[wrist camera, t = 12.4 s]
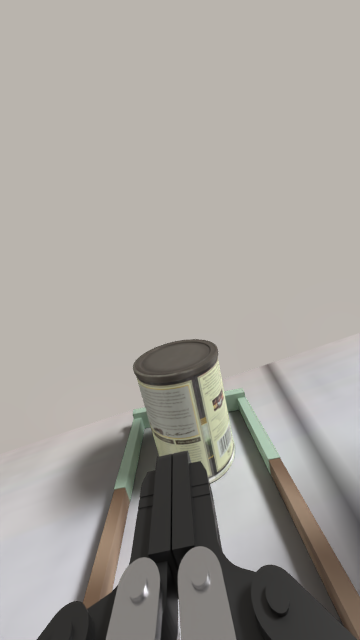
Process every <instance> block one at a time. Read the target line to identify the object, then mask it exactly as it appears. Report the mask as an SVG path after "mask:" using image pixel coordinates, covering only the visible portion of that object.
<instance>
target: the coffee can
mask: <svg viewBox="0 0 360 640" xmlns="http://www.w3.org/2000/svg"><path fill="white" fill-rule="evenodd" d="M133 370H134V373H135V375H136V376H137V380H138V384H139V387H140V391H141V394H142V398H143V401H144V405H145V408H146V412H147V415H148V419H149V423H150V426H151V430H152V433H153V437H154V440H155V444H156V447H157V451H158V454H159V456H164V455H168V454H173V453H177V452H182V451H187V450H188V452H189V455H190V459H191V463H193V462H198V461H201V463H202V464H203V466H204V467H205V469H206V470H207V474H208V479H209V483H212V482H214V481H216V480H217V479H219V478H220V477H222V476H223V475H224V474H225V473H226V472H227V470H228V469H229V467H230V466H231V464H232V462H233V459H234V455H235V445H234V441H233V438H232V432H231V427H230V421H229V416H228V410H227V405H226V400H225V394H224V388H223V383H222V378H221V373H220V367H219V362H218V349H217V346H216V345H215V344H214V343H212V342H210V341H206V340H198V339H196V340H195V339H193V340H181V341H175V342H171V343H167V344H164V345H161V346H158V347H156V348H154V349H152V350H150V351H148V352H146V353H144V354H143V355H141V356H140V357H139V358H138V359H137V360H136V361H135V363H134V365H133Z"/></svg>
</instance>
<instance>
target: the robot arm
mask: <svg viewBox="0 0 360 640" xmlns="http://www.w3.org/2000/svg"><path fill="white" fill-rule="evenodd" d="M178 599H179V610H180V626H181V640H357V639H356V638H355V637H354V636H353V635H352V634H351V633H350V632H349V631H348V630H347V629H346V628H345V627H344V626H343V625H342V624H341V623H340V622H339V621H338V620H337V619H336V618H335V617H334V616H332V615H331V614H330V613H329V612H328V611H327V610H326V609H325V608H324V607H323V606H322V605H321V604H320V603H319V602H318V601H317V600H316V599H315V598H314V597H313V596H312V595H311V594H310V593H309V592H308V591H306V590H305V589H304V588H303V587H302V586H301V585H300V584H299V583H298V582H297V581H296V580H295V579H294V578H293V577H292V576H291V575H290V574H289V573H288V572H286V571H285V570H284V569H282V568H280V567H278V566H275V565H265V566H263V567H261V568H260V569H259V570H258V571H257V572H253V571H250V570H246V569H243V568H240V567H237V566H235V565H234V564H232V563H231V562H230V561H229V560H228V559H227V558H226V557H225V555H224V554H223V552H222V547H221V541H220V535H219V530H218V524H217V518H216V512H215V506H214V500H213V495H212V491H211V487H210V483H209V479H208V474H207V470H206V469H205V467H204V466H203V464H202V463H201V461H198V462H193V463H191V459H190V455H189V452H188V450H187V451H182V452H177V453H173V454H168V455H164V456H159V457H157V463H156V471H151V472H148V473H147V475H146V477H145V479H144V481H143V483H142V487H141V493H140V500H139V507H138V513H137V520H136V527H135V533H134V540H133V547H132V553H131V559H130V563H129V566H128V567H127V569H126V570H125V571H124V573H123V575H122V577H121V579H120V581H119V584H118V586H117V587H116V588H115V589H114V590H113V591H112V592H111V593H109V594H108V595H107V596H105V597H104V598H102V599H101V600H99V601H98V602H96V603H95V604H93V605H92V606H91V607H89V608H88V609H87V608H86V606H85V605H84V604H83V603H81V602H78V601H75V602H71V603H69V604H67V605H65V606H64V607H63V608H62V609H61V610H60V611H59V612H58V613H57V614H56V615H55V616H54V617H53V619H52V620H51V621H50V623H49V624H48V625H47V627H46V628H45V629H44V631H43V632H42V633H41V635H40V636H39V637H38V639H37V640H180V632H179V626H178Z"/></svg>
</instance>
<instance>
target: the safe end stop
mask: <svg viewBox="0 0 360 640" xmlns="http://www.w3.org/2000/svg"><path fill="white" fill-rule="evenodd" d="M224 394H225V400H226V405H227V410H228V412H230V411H235V410H240V412H241V414H242V416H243V418H244V421H245V423H246V425H247V427H248V429H249V431H250V433H251V435H252V437H253V439H254V441H255V443H256V446H257V448H258V450H259V452H260V454H261V456H262V458H263V460H264V462H265V464H266V466H267V469H268V471H269V473H270V475H271V471H270V464H269V460H272V459H277V458H280V456H279V454H278V452H277V451H276V449H275V447H274V445H273V444H272V442H271V440H270V438H269V437H268V435H267V433H266V432H265V430H264V428H263V426H262V425H261V423H260V421H259V419H258V418H257V416H256V414H255V413H254V411H253V409H252V407H251V406H250V404H249V402H248V400H247V399H246V397H245V393H244V391H243V389H242V388H240V389H235V390H230V391H225V392H224ZM133 417H134V420H133V423H132V427H131V430H130V434H129V437H128V441H127V444H126V448H125V451H124V455H123V458H122V462H121V465H120V469H119V473H118V476H117V480H116V483H115V487H114V490H115V489H120V488H125V489H126V492H127V495H128V498H129V501H130V500H131V495H132V490H133V485H134V479H135V474H136V469H137V464H138V459H139V454H140V449H141V444H142V439H143V434H144V429H145V428H149V427H151V426H150V423H149V419H148V415H147V412H146V408H140V409H134V411H133Z"/></svg>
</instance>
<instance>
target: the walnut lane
mask: <svg viewBox="0 0 360 640" xmlns="http://www.w3.org/2000/svg"><path fill="white" fill-rule="evenodd" d="M269 464H270V471H271V476H272V478H273V480H274V482H275V484H276V486H277V488H278V490H279V492H280V495H281V497H282V499H283V501H284V503H285V505H286V507H287V509H288V511H289V513H290V515H291V517H292V520H293V522H294V524H295V526H296V528H297V530H298V532H299V534H300V536H301V538H302V540H303V542H304V544H305V547H306V549H307V551H308V553H309V555H310V557H311V559H312V561H313V563H314V565H315V567H316V569H317V571H318V574H319V576H320V578H321V580H322V582H323V584H324V586H325V588H326V590H327V592H328V594H329V596H330V598H331V601H332V603H333V605H334V607H335V609H336V611H337V613H338V615H339V617H340V619H341V621H342V623H343V625H344V627H345V628H346V629H347V630H348V631H349V632H350V633H351V634H352V635H353V636H354V637H355V638H356V639H357V640H360V597H359V595H358V593H357V591H356V590H355V588H354V586H353V584H352V583H351V581H350V579H349V577H348V576H347V574H346V572H345V570H344V569H343V567H342V565H341V563H340V562H339V560H338V558H337V556H336V555H335V553H334V551H333V550H332V548H331V546H330V544H329V543H328V541H327V539H326V537H325V536H324V534H323V532H322V530H321V529H320V527H319V525H318V523H317V522H316V520H315V518H314V516H313V515H312V513H311V511H310V509H309V508H308V506H307V504H306V503H305V501H304V499H303V497H302V496H301V494H300V492H299V490H298V489H297V487H296V485H295V483H294V482H293V480H292V478H291V476H290V475H289V473H288V471H287V469H286V468H285V466H284V464H283V462H282V461H281V459H280V458H277V459H272V460H269ZM129 503H130V501H129V498H128V495H127V492H126V489H125V488H120V489H115V490H114V493H113V497H112V500H111V504H110V507H109V511H108V515H107V518H106V522H105V525H104V529H103V532H102V536H101V540H100V543H99V547H98V550H97V554H96V557H95V561H94V565H93V568H92V572H91V575H90V579H89V582H88V586H87V590H86V593H85V597H84V600H83V604H84V605H85V606H86V608H87V609H88V608H89V607H91V606H92V605H93V604H95V603H96V602H98V601H99V600H101V599H102V598H104V597H105V596H107V595H108V594H109V593H111V592H112V589H113V584H114V579H115V573H116V568H117V563H118V558H119V553H120V548H121V543H122V538H123V533H124V528H125V523H126V518H127V513H128V508H129Z"/></svg>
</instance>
